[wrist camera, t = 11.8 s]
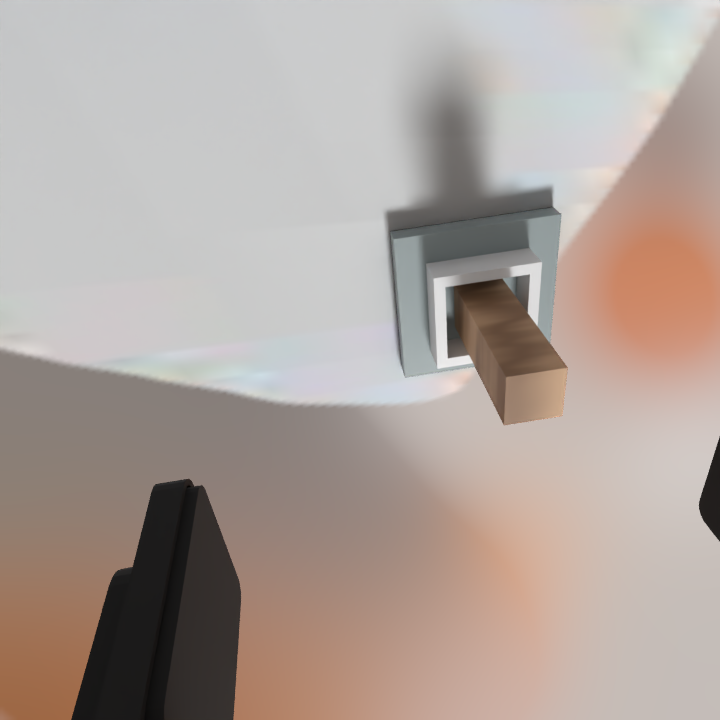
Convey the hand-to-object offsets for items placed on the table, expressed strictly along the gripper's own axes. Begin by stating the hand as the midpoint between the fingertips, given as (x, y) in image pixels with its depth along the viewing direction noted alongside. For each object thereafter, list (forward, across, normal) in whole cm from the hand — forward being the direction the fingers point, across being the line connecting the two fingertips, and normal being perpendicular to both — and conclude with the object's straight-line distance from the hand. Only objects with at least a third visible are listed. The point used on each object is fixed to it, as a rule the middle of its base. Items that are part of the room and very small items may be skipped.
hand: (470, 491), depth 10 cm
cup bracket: (+32, -9, +14) cm, 36 cm away
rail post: (+31, -9, +14) cm, 35 cm away
